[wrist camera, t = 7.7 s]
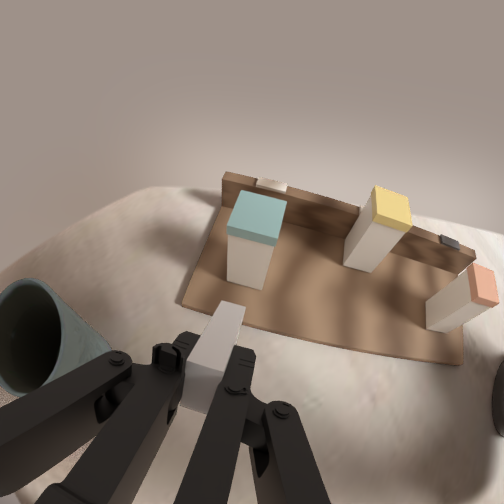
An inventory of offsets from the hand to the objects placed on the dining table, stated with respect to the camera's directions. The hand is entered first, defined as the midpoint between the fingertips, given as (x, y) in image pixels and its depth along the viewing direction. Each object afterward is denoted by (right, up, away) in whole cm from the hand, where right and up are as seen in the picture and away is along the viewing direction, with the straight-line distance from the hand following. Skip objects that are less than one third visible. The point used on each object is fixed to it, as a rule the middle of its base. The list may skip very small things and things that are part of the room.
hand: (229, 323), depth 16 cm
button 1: (+26, -5, +14) cm, 30 cm away
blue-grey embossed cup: (-18, -9, +8) cm, 21 cm away
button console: (+14, 0, +17) cm, 22 cm away
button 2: (+1, +2, +16) cm, 16 cm away
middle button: (+15, +4, +18) cm, 24 cm away
